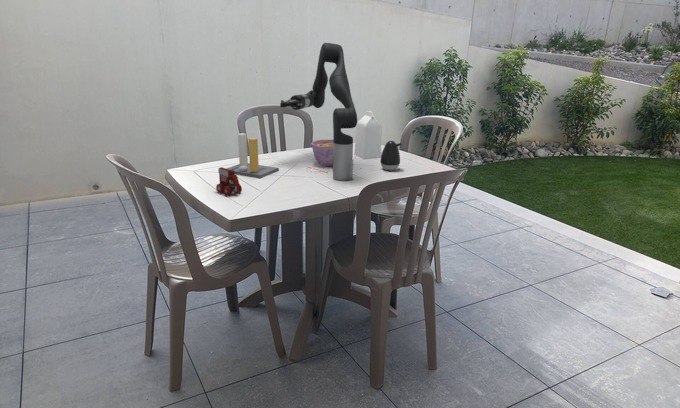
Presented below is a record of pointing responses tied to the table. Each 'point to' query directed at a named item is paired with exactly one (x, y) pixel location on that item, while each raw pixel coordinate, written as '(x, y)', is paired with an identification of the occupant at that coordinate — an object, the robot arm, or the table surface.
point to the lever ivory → (242, 149)
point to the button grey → (243, 168)
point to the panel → (259, 174)
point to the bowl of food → (323, 151)
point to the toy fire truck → (228, 182)
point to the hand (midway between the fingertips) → (281, 105)
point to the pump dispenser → (390, 156)
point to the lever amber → (253, 154)
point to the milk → (368, 137)
